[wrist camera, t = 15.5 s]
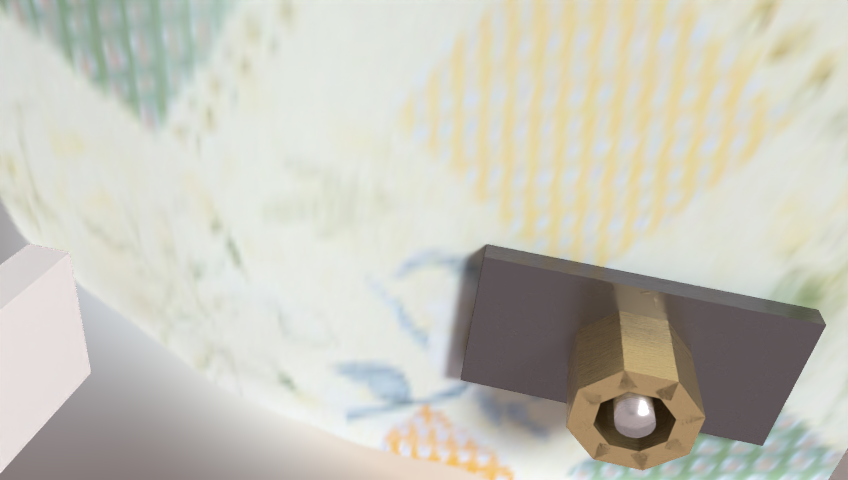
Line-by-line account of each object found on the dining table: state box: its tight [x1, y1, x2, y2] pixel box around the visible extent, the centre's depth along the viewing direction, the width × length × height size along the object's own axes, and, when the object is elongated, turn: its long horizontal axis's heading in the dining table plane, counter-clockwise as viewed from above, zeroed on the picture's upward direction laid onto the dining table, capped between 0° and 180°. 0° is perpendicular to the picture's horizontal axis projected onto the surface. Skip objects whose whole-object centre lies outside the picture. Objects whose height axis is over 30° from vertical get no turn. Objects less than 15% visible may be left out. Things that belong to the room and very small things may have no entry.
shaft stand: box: [461, 244, 826, 446], centre depth 42 cm, size 20×10×8 cm, turn 83°
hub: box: [566, 311, 706, 470], centre depth 42 cm, size 7×7×6 cm
